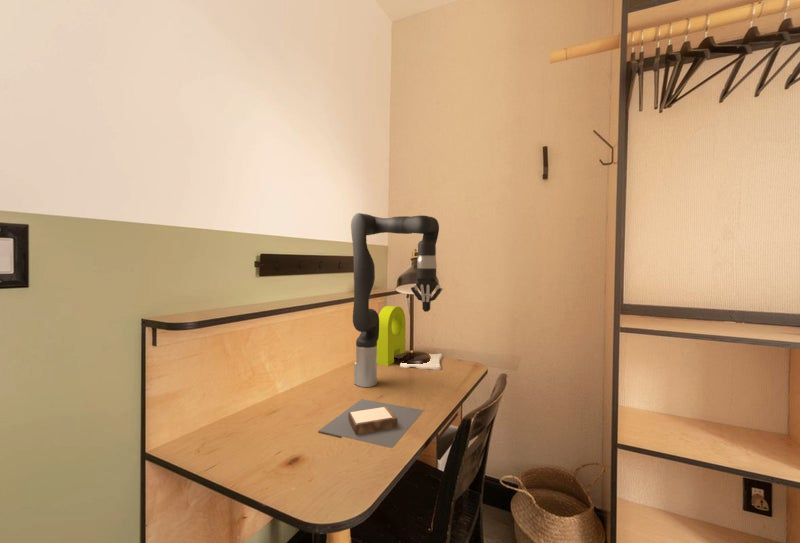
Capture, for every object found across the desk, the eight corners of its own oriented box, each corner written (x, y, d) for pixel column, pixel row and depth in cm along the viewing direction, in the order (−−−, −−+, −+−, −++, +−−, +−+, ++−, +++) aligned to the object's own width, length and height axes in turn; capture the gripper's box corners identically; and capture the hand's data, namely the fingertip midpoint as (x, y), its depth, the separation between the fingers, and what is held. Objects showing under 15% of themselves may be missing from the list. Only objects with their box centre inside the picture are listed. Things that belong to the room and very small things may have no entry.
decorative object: (387, 366, 182) (387, 308, 181) (376, 364, 185) (376, 308, 184) (405, 356, 200) (405, 304, 199) (395, 355, 203) (395, 303, 202)
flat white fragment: (440, 374, 176) (444, 358, 200) (440, 367, 175) (444, 352, 200) (399, 369, 180) (407, 354, 204) (399, 362, 180) (408, 348, 204)
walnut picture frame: (397, 427, 114) (355, 434, 109) (387, 414, 123) (348, 420, 118) (397, 417, 114) (355, 424, 109) (387, 405, 123) (348, 411, 118)
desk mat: (318, 432, 112) (318, 430, 111) (361, 400, 137) (361, 398, 137) (392, 449, 101) (392, 447, 101) (424, 411, 127) (424, 410, 127)
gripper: (407, 267, 136) (407, 311, 136) (440, 267, 131) (439, 313, 131) (414, 267, 143) (414, 309, 143) (445, 267, 138) (445, 311, 138)
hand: (426, 311), depth 137 cm, fingers closed
